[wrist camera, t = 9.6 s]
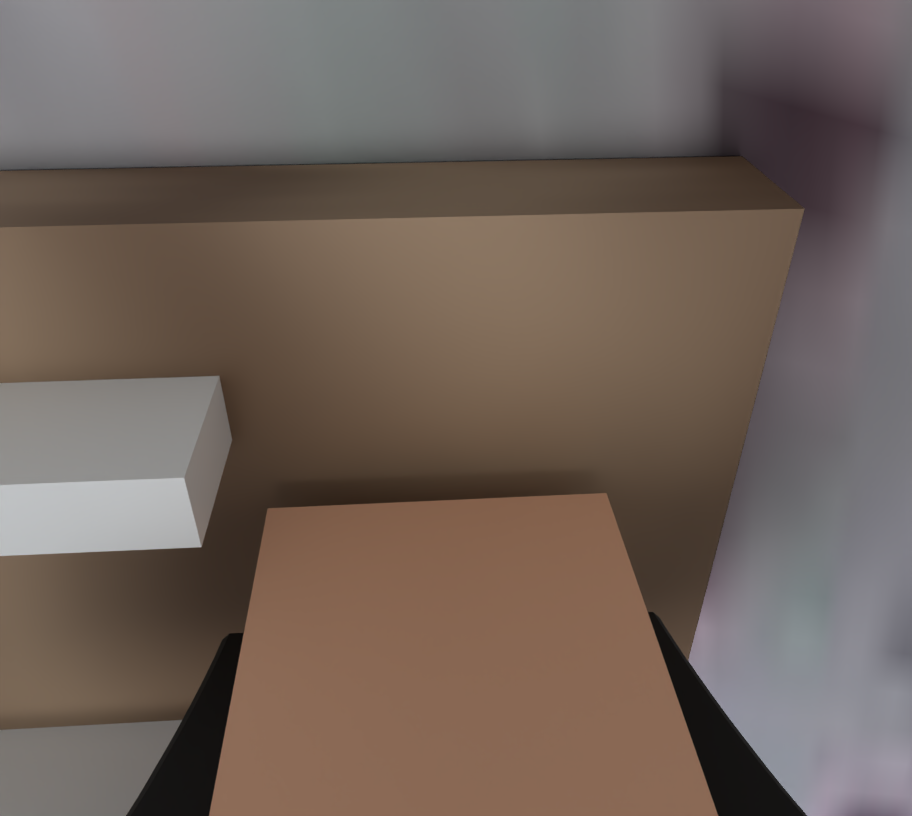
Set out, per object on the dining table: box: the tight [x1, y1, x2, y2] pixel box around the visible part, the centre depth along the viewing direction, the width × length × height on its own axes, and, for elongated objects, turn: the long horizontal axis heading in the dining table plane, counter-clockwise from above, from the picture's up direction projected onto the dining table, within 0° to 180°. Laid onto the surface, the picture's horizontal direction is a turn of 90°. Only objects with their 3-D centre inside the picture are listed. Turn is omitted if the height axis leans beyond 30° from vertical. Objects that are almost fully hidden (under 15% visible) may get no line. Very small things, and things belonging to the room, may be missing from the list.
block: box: [209, 493, 718, 816], centre depth 10 cm, size 4×4×4 cm
